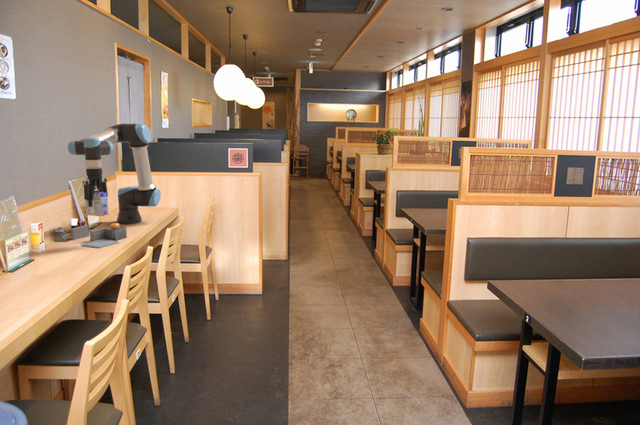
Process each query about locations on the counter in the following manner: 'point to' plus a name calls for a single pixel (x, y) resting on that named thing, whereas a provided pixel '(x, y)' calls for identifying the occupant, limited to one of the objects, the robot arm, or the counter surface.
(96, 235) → the cartridge holder
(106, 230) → the block
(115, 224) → the plunger
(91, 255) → the counter surface
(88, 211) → the ink cartridge box
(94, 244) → the rubber mat
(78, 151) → the robot arm
